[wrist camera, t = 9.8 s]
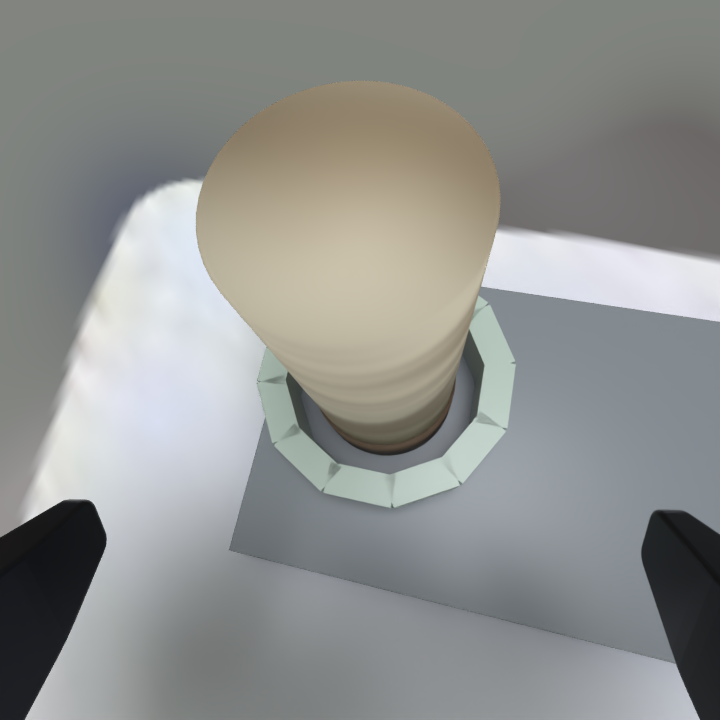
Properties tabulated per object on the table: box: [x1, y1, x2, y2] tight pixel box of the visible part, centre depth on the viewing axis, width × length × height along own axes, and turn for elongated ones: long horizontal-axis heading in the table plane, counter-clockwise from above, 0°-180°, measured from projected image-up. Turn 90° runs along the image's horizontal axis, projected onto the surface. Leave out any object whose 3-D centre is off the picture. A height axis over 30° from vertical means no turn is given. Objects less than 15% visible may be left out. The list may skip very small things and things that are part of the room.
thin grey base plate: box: [229, 287, 720, 663], centre depth 17 cm, size 22×12×4 cm, turn 78°
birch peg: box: [196, 81, 501, 456], centre depth 13 cm, size 5×5×12 cm
